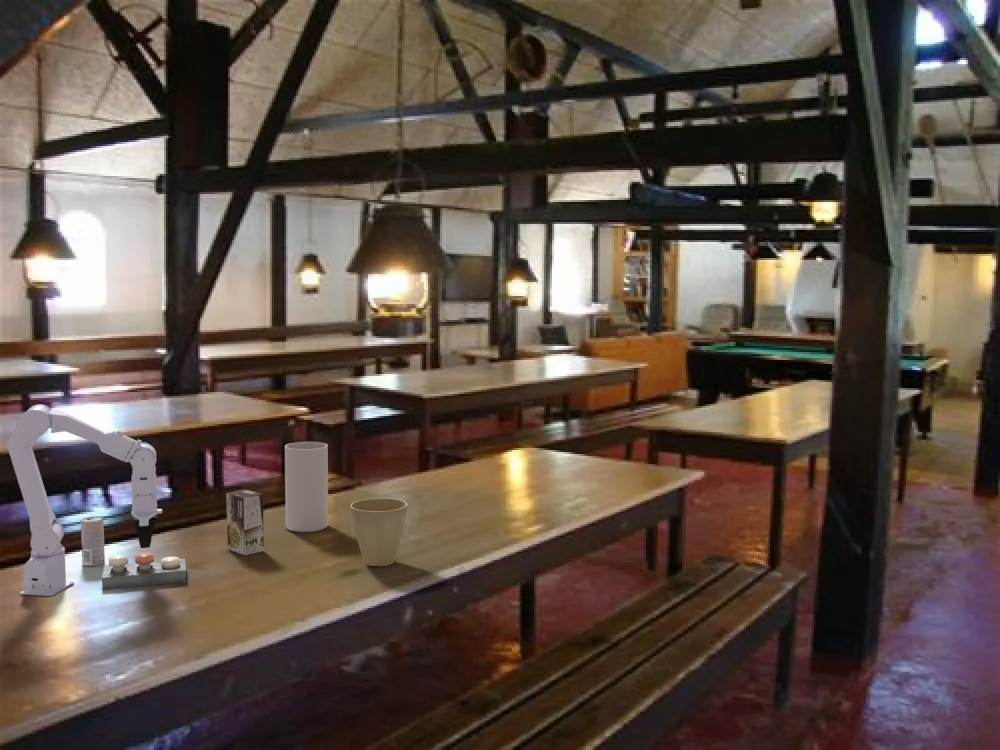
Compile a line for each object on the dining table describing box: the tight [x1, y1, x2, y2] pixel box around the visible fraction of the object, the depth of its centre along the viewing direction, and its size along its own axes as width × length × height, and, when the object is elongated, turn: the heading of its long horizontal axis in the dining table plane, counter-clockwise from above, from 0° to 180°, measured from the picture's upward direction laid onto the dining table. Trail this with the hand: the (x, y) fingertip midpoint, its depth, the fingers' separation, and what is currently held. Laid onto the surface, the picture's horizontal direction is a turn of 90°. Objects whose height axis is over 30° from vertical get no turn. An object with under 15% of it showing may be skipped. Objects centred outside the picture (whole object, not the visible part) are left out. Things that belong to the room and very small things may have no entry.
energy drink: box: [80, 516, 106, 568], centre depth 239 cm, size 5×5×12 cm
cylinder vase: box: [284, 441, 329, 533], centre depth 276 cm, size 12×12×25 cm
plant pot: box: [350, 497, 408, 568], centre depth 243 cm, size 15×15×16 cm
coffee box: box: [225, 488, 265, 556], centre depth 252 cm, size 9×6×16 cm
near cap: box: [108, 554, 129, 573], centre depth 226 cm, size 4×4×4 cm
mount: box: [101, 558, 187, 591], centre depth 228 cm, size 19×10×3 cm, turn 110°
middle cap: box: [134, 552, 155, 570], centre depth 228 cm, size 4×4×4 cm
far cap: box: [160, 556, 181, 568], centre depth 230 cm, size 4×4×4 cm
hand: (145, 547), depth 227 cm, fingers closed
